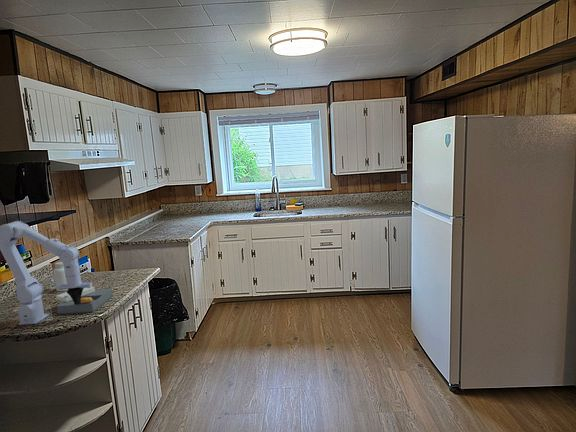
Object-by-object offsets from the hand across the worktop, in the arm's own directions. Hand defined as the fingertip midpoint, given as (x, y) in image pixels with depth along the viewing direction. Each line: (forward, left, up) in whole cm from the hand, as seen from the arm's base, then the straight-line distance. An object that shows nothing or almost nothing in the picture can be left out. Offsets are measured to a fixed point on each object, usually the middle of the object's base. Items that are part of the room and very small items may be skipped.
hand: (77, 303), depth 173 cm
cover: (+15, +9, -1) cm, 17 cm away
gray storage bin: (+13, +3, -5) cm, 14 cm away
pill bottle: (+38, +29, -6) cm, 49 cm away
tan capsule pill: (+4, 0, -1) cm, 5 cm away
